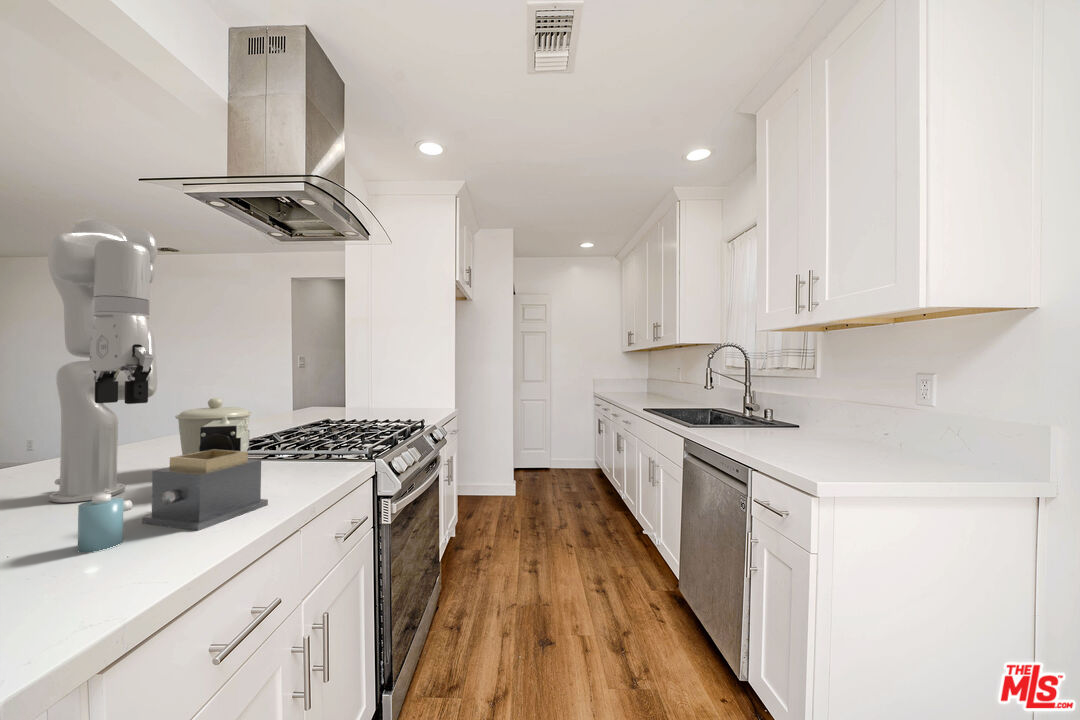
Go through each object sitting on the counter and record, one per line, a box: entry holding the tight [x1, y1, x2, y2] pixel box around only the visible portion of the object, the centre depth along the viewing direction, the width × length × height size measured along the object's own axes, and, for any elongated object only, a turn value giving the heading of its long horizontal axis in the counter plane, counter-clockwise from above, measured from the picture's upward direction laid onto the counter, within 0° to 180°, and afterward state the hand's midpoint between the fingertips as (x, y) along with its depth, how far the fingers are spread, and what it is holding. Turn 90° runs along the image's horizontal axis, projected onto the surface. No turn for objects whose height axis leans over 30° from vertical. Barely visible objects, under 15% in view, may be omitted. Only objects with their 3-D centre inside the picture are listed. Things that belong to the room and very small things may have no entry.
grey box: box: [141, 449, 269, 531], centre depth 95 cm, size 14×17×12 cm
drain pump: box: [77, 494, 133, 553], centre depth 79 cm, size 6×7×9 cm
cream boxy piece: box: [199, 416, 250, 452], centre depth 116 cm, size 18×8×18 cm, turn 25°
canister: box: [175, 397, 253, 455], centre depth 131 cm, size 18×18×21 cm
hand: (121, 403), depth 82 cm, fingers open, 9 cm apart
